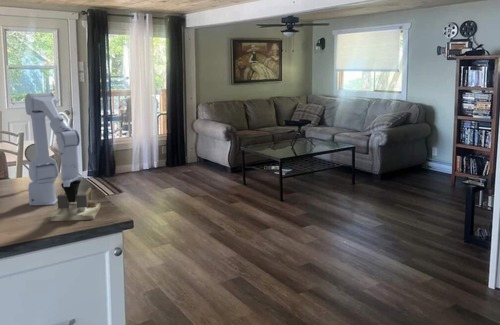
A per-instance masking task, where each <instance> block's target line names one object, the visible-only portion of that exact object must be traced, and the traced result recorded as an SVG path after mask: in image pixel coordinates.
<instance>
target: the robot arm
mask: <svg viewBox="0 0 500 325" xmlns="http://www.w3.org/2000/svg"><path fill="white" fill-rule="evenodd" d="M24 105H25V112H26V115H28V116H30V118H31V128H32V134H33V144H35V153H36V157H35V158H34V159H33V160H32V161H31V162H30V161H29V162H28V175H29V176H28V177H29V179H30V180H31V181H29V183H28V187H27V188H28V199H29V204H28V205H29V206H49V205H51V206H52V205H56V203H58V201H57V196H56V185H55V183H56V182H55V181H56V180H57V178H58V177H59V174H60V171H59V167H58V164H57V161H56V159H55V158H52V157H51V156H50V152H49V142H48V133H47V124H46V117H47V118H48V119H49V121H50V122H49V126H50V129H51V130H52V131H53V133H54V135H55V138H56V139H55V141H56V145H57V147H58V149H57V150H58V153H59V154H60V156H59V157H60V165H61V181H62V183H61V184H60V185H61V188H62V189H63V190H64V191H65V193H66V195H67V199H68V201H69V202H75V200H76V195H77V194H78V192H79V187H80V185H81V182H82V179H83V175H80V170H79V169H80V166H79V156H78V155H79V154H78V146H79V145H80V141H81V140H80V134H79V132H78V131H77V130H76V129H74V128H71V126H70V124H69V123H68V121H67V120H66V118H65V117H64V116H61V115H60V113H59V111H58V109H57V97H56V95H55V94H54V92H42V93H41V92H40V93H37V92H36V93H31V92H30V93H27V94H26V95H25V97H24Z"/></svg>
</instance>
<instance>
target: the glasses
mask: <svg viewBox="0 0 500 325" xmlns="http://www.w3.org/2000/svg"><path fill="white" fill-rule="evenodd" d="M87 196H89V198H88V201H89V200H93V194H92V187H88V189H87V190H86V191H85V193H82V194H81V193H79V194H78V193H77V195H76V200H75V202H77V208H82V207H88V201H87ZM56 198H57V208H69V201H68V199H67V195H66V193H65V191H64V189H63V190H62V191H61V192H60V193H59V194H58V195H57V196H56Z"/></svg>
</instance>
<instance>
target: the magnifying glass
mask: <svg viewBox="0 0 500 325" xmlns="http://www.w3.org/2000/svg"><path fill="white" fill-rule="evenodd" d="M24 157H25V159H26V161H28V162H29V163H30V162H31V161H32V160H33V159H34V158H35V157H36V153H35V144H34V143H31V144H29V145H28V146H27V147H26V148H25V150H24Z"/></svg>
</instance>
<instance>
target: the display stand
mask: <svg viewBox="0 0 500 325" xmlns="http://www.w3.org/2000/svg"><path fill="white" fill-rule="evenodd" d="M88 196H89V195H87V201H88V207H82V208H77V202H69V208H58V207H57V208H56V209H55V210H54V212H53V213H52V214H51V215H50V216H49V221H50V222H59V221H60V222H61V221H85V220H87V221H89V220H90V221H91V220H95V218H96V216H97V214H98V213H99V211H100V209H101V203H100V202H99V203H98V199H92V200H89V198H88Z"/></svg>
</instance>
